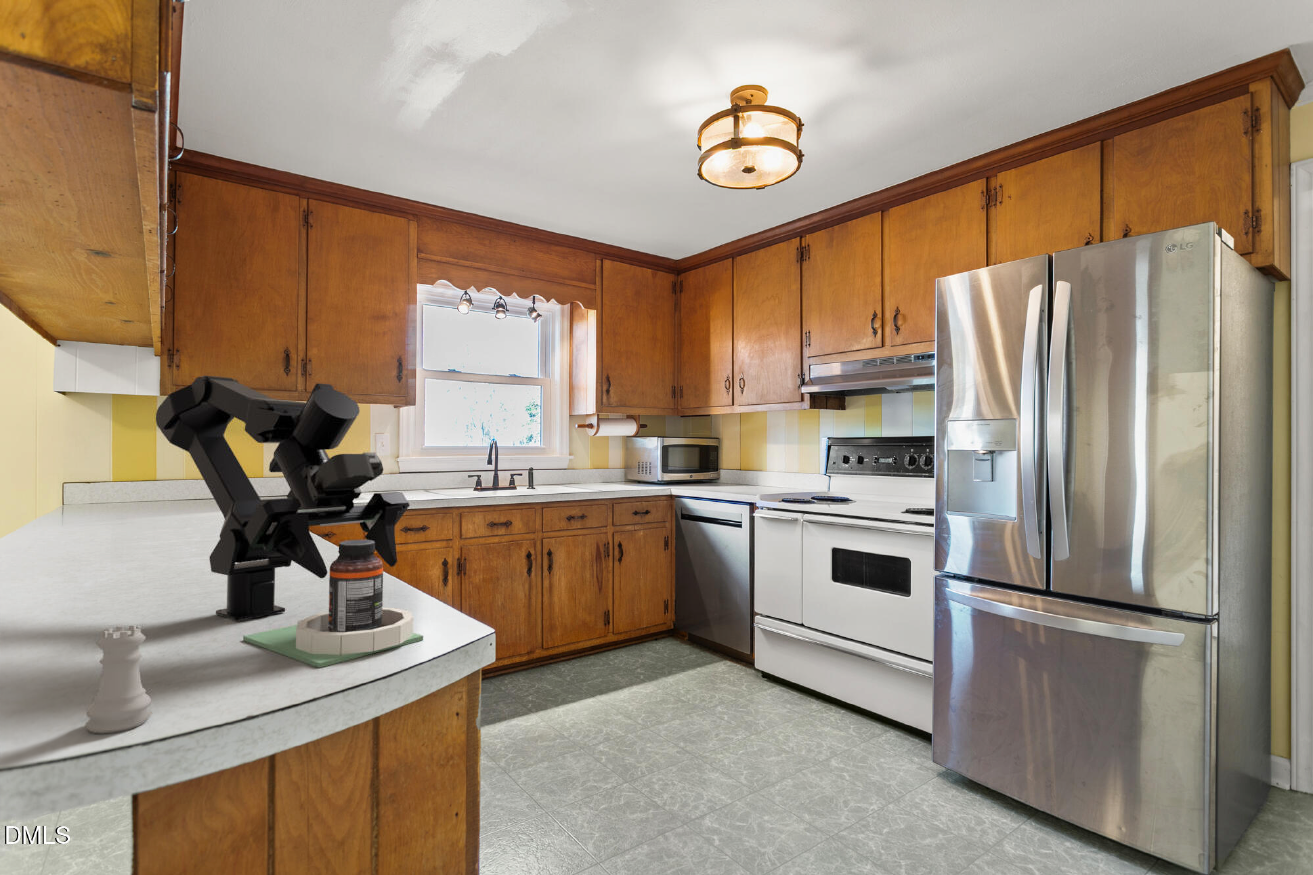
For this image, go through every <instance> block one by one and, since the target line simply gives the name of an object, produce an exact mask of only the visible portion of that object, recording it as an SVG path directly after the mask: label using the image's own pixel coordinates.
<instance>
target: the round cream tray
mask: <svg viewBox="0 0 1313 875" xmlns="http://www.w3.org/2000/svg"><path fill="white" fill-rule="evenodd" d="M413 619H414V617H413V614H412V613H411V611H408V610H404V609H401V608H397V607H382V627H380V628H376V629H372V630H363V631H353V632H329V629H328V626H329V611H327V612H320V613H318V614H313V615H310V616H309V617H306V618H304V619H301V620H298V621H297V622H296V625H297V627H296V649H299V650H302V651H305V652H308V653H312V654H331V655H340V654H341V655H344V654H353V653H362V652H371V651H376V650H380V649H384V648H387V647H391V646H395V645H399V644H401V643H403V642H404V641H406V640H407V639H409V638H410V637H412V633H414V632H413V627H414V626H413V625H414V624H413V623H414V622H413V621H414V620H413Z"/></svg>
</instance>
